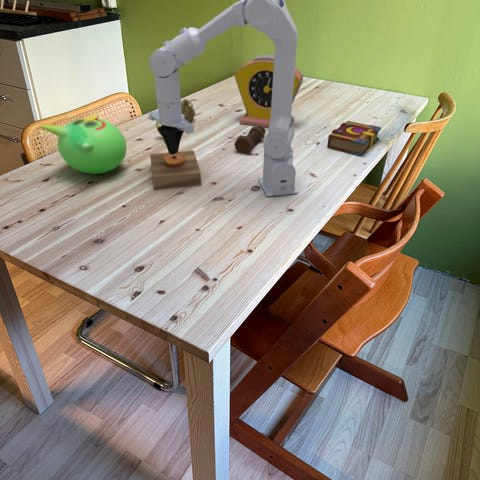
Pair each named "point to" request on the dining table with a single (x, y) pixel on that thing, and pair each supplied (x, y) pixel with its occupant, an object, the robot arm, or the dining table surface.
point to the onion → (187, 109)
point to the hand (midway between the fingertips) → (173, 152)
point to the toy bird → (90, 144)
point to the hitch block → (175, 172)
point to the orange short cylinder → (174, 159)
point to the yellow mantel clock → (260, 89)
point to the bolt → (249, 140)
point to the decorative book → (353, 138)
